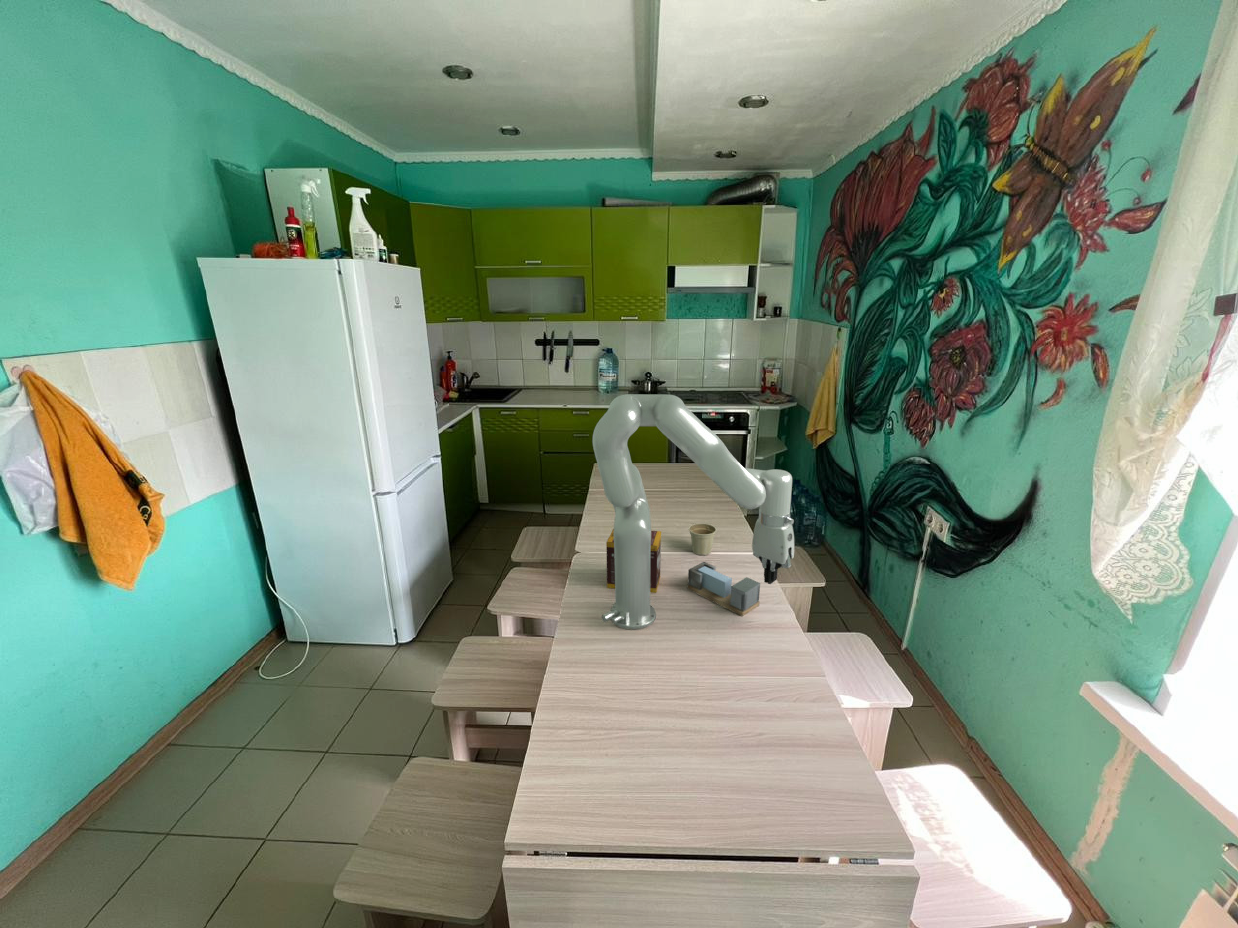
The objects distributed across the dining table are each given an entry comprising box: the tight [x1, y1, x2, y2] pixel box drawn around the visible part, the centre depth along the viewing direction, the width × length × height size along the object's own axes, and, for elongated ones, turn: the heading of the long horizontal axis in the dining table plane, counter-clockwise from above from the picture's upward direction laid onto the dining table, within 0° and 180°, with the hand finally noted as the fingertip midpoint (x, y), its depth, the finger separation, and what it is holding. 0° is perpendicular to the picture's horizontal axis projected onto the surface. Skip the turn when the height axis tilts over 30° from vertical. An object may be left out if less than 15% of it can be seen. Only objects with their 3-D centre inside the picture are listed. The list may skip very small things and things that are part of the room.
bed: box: [686, 561, 760, 617], centre depth 151 cm, size 20×8×6 cm, turn 42°
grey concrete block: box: [730, 577, 761, 611], centre depth 145 cm, size 4×7×6 cm, turn 132°
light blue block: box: [698, 566, 733, 598], centre depth 153 cm, size 10×3×5 cm, turn 42°
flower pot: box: [688, 522, 717, 556], centre depth 178 cm, size 9×9×9 cm
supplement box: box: [605, 527, 662, 594], centre depth 158 cm, size 10×15×16 cm
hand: (770, 581), depth 138 cm, fingers closed
